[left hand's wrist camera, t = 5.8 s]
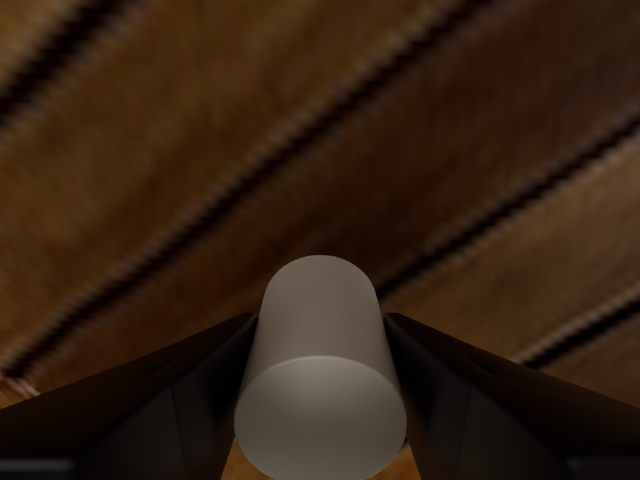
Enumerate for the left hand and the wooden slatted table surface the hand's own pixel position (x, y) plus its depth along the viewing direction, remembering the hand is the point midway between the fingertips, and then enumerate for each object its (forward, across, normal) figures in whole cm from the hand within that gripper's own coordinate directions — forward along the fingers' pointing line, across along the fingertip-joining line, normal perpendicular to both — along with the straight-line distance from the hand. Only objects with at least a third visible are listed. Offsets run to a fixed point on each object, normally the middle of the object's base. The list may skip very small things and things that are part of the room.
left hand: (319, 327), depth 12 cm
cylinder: (+1, 0, 0) cm, 1 cm away
